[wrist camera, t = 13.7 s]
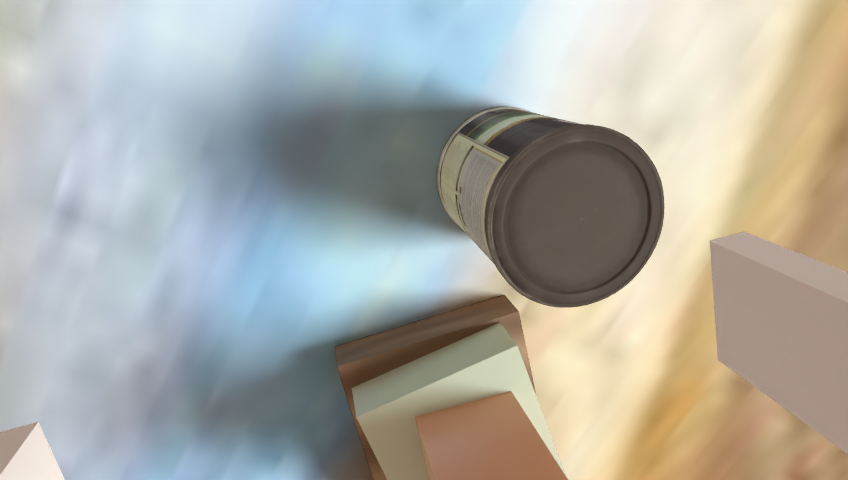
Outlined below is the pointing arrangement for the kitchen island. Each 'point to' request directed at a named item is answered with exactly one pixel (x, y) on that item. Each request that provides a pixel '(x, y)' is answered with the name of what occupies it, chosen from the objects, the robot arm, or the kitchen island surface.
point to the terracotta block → (485, 443)
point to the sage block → (441, 396)
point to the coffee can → (553, 203)
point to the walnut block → (420, 349)
